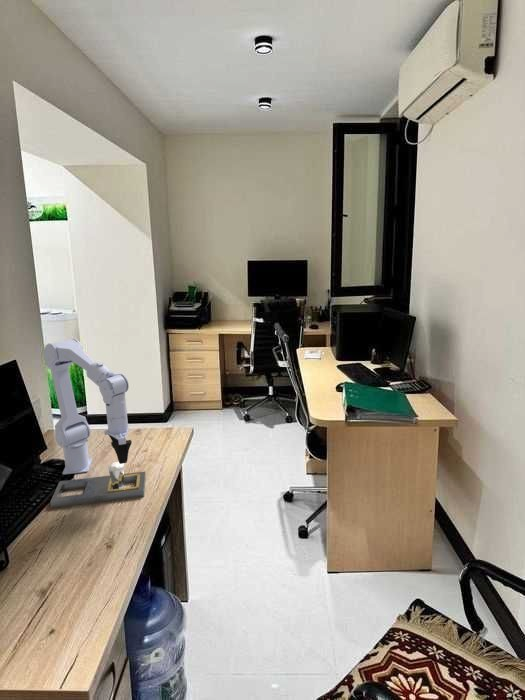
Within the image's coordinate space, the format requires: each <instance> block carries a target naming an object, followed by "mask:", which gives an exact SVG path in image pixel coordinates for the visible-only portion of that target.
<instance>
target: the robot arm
mask: <svg viewBox="0 0 525 700" xmlns="http://www.w3.org/2000/svg"><path fill="white" fill-rule="evenodd" d="M43 355H44V359H45V360H44V361H45V364H46V368H47V369H49V370H50V372H51V377H52V378H51V379H52V382H53V386H54V391H55V394H56V398H57V399H56V400H57V403H58V408H59V412H60V419H59V420H58V421H57V422H56V423H55V425H54V430H55V433H54V434H55V435H54V436H55V437H54V438H55V441H56V444H57V445H58V446H59V447H61V448H62V451H63V457H64V466H65V467H64V469H63V471H62V475H71V474H80V473H88V472H89V470H90V467H91V464H92V461H93V458H92V457H91V458H90V456H89V449H88V448H89V447H88V439H89V438H90V436H91V427H90V425H89V423H88V421H87V418H86V417H85V416H83V415H81V414H79V413H78V408H77V403H76V400H75V399H76V398H75V394H74V390H73V385H72V380H71V376H70V375H71V374H70V371H69V368H70V366H71V365H72V363H74V364H76V365H77V366H78V367H80V368H82V369H83V370H84V371H86V377H87V378H88V379H89V380H91V382H93V383H94V384H95V385H96V386H97V387H99V388H98V389H99V392H100V394H101V397H102V401H103V403H104V404H105V411H106V412H105V413H106V421H107V429H106V430H104V432H103V433H104V435H105V436H106V435H107V436H108V437H109V439H110V440H111V442H110V444H111V447H112V448H113V450H114V451H115V454H116V457H117V460H118V461H117V462H119V463H120V464H126V463H128V458H129V452H130V448H131V446H132V439H127V435H129V434H128V433H129V432H130V427H129V422H128V412H127V401H126V400H127V399H126V393H127V391H128V390H129V380H128V379H127V378H126V376H125V375H124V374H123V373H117V372H116V373H114V372H113V371H112V370H110V369H109V368H108V367H107V366H106V365H104V363H103V362H100V361H96V362H95V361H94V360H93V359H92V357H90V356H89V355H88V354H87V352H85V351H84V348H83V345H82V343H81V342H80V341H79V339H77V338H74V337H73V338H70V339H67V340H62V341H57V342H52V343H47V344H45V347H44V349H43Z"/></svg>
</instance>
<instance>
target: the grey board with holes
mask: <svg viewBox="0 0 525 700" xmlns="http://www.w3.org/2000/svg"><path fill="white" fill-rule="evenodd" d="M146 477H147V474H146V471H137V472H129V473H124V484H127V483H136V485H135V486H132V487H131V486H129V487H124V488H121V489H113V487H112V482H111V477H110V475H104V476H94V477H93V476H92V477H87V478H85V477H84V478H79V479H78V478H77V479H69V480H68V479H67V480H59V482H58V484H57V486H56V489H55V490H54V493H53V495H52V496H51V497H52V498H51V499H50V502H49V503H50V509H55V508H62V507H71V506H80V505H88V504H95V503H103V502H110V501H119V500H120V501H121V500H128V499H136V498H142V497H145V491H146V490H145V489H146ZM84 488H85V489H84ZM77 489H84V492H83V493H80V494H73V495H64V496H62V494H63V491H68V490H69V491H70V490H77Z"/></svg>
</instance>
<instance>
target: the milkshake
mask: <svg viewBox="0 0 525 700" xmlns="http://www.w3.org/2000/svg"><path fill="white" fill-rule="evenodd" d="M107 468H108V473H109V476H110V477H111V482H112V487H113V489H121V488H125V483H124V474H125V463H123V464H120V463H119V461H115V462H111V463H110V464H109V465H108V467H107ZM113 489H112V490H113Z"/></svg>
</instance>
